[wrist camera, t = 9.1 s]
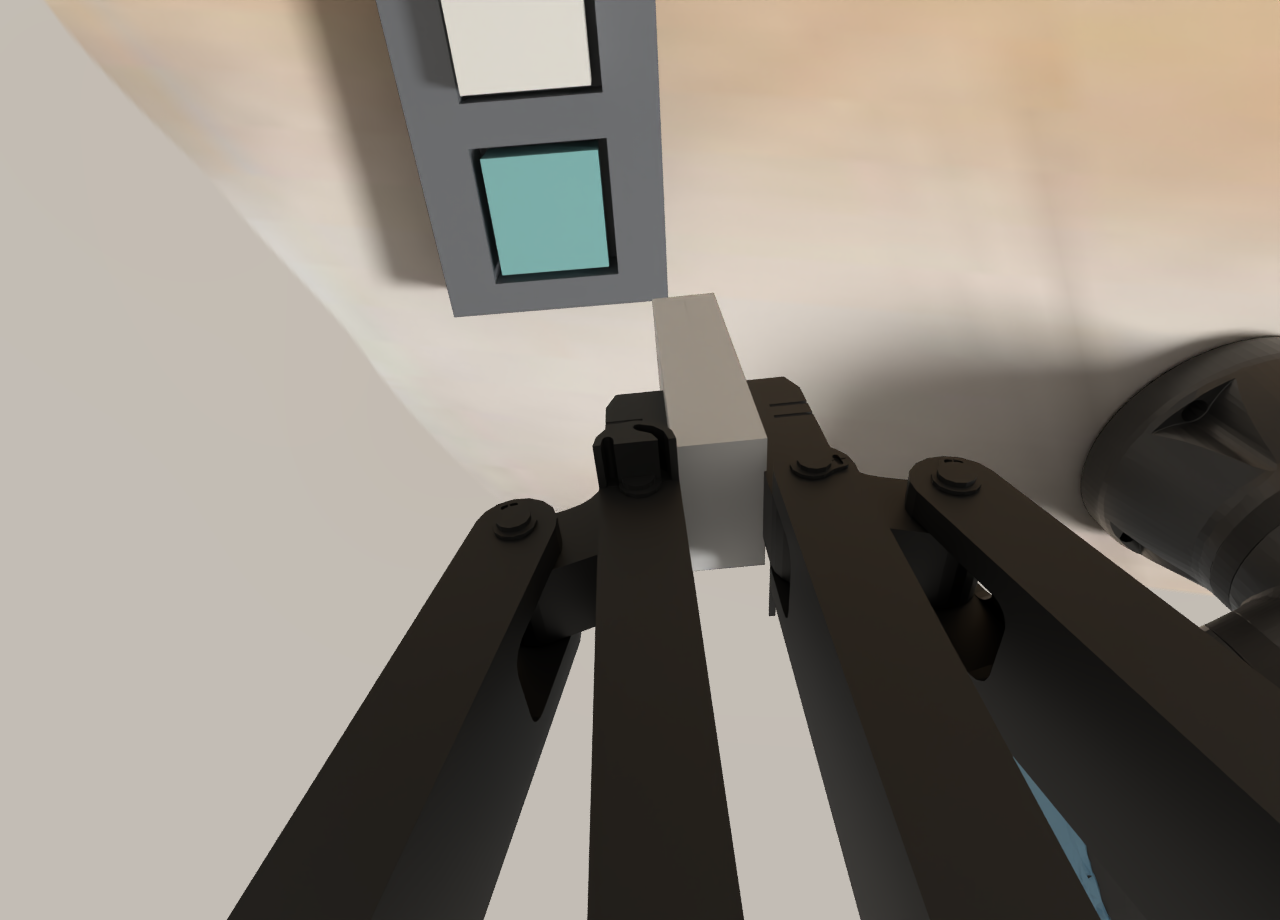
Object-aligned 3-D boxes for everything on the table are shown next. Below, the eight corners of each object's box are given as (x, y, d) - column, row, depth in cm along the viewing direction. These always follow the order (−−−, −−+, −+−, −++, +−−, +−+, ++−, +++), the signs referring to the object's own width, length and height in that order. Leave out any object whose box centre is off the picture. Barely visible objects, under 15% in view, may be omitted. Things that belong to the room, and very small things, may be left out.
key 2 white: (591, 79, 25) (590, 85, 23) (470, 89, 25) (460, 96, 23) (576, -78, 23) (574, -86, 21) (441, -67, 23) (426, -74, 21)
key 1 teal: (608, 250, 31) (609, 266, 29) (508, 258, 31) (502, 275, 29) (597, 139, 28) (597, 149, 26) (488, 148, 28) (480, 159, 26)
